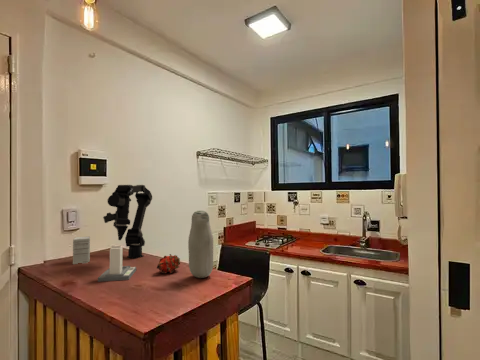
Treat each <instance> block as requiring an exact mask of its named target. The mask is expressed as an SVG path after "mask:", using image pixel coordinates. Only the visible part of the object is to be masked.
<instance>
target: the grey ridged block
mask: <svg viewBox="0 0 480 360" xmlns="http://www.w3.org/2000/svg"><path fill="white" fill-rule="evenodd" d="M90 252H91V237H90V236H80V237H79V236H77V237H74V238H73V240H72V265H79V264H78V263H82V264H89V263H88V262H90V261H91V258H90V257H91V253H90Z"/></svg>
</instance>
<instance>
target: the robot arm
mask: <svg viewBox="0 0 480 360" xmlns="http://www.w3.org/2000/svg"><path fill="white" fill-rule="evenodd" d="M134 193H135V195H134ZM133 195H134V197H135V199H136V202H137V203H136V204H137V208H136V212H135V216H134V218H133V219H134V220H133V222H132V227H131V228H128V227H129V225H131V219H129V213H130V203H131V201H132V199H131V198H130V196H133ZM152 200H153V195H152V192H151V191H150V190H149V189H148V188H146V185H144V184H136V185H132V184H118V185H117V187H116V189H115V190H114V192H112V193H111V195H110V196H108V198H107V201H106V202H107V204H108V206H110V207H112V208H113V207H114V208H116V210H115V212H114V213H111V212H107V213H106V215H103V217H102V218H103V221H104V223H105V224H107V223H109V222H113V221H114V222H113V223H112V224H113V227H114V228H115V229H116V231H117V237H118V238H117V240H118V241H122V239H123V238H125V246H126V248H128V250H127V251H128V255H127V256H126V258H129V259H138V258H139V259H140V258H143V257H144V256H145V255H144V254H143V247H145V244H146V241H145V239H144V237H143V235H144V234H143V231H142V227H143V223H144V219H145V215H146V211H147V207H148V206H150V205H151V202H152ZM126 231H127V232H126ZM125 233H126V234H125ZM124 235H125V237H124Z"/></svg>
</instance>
